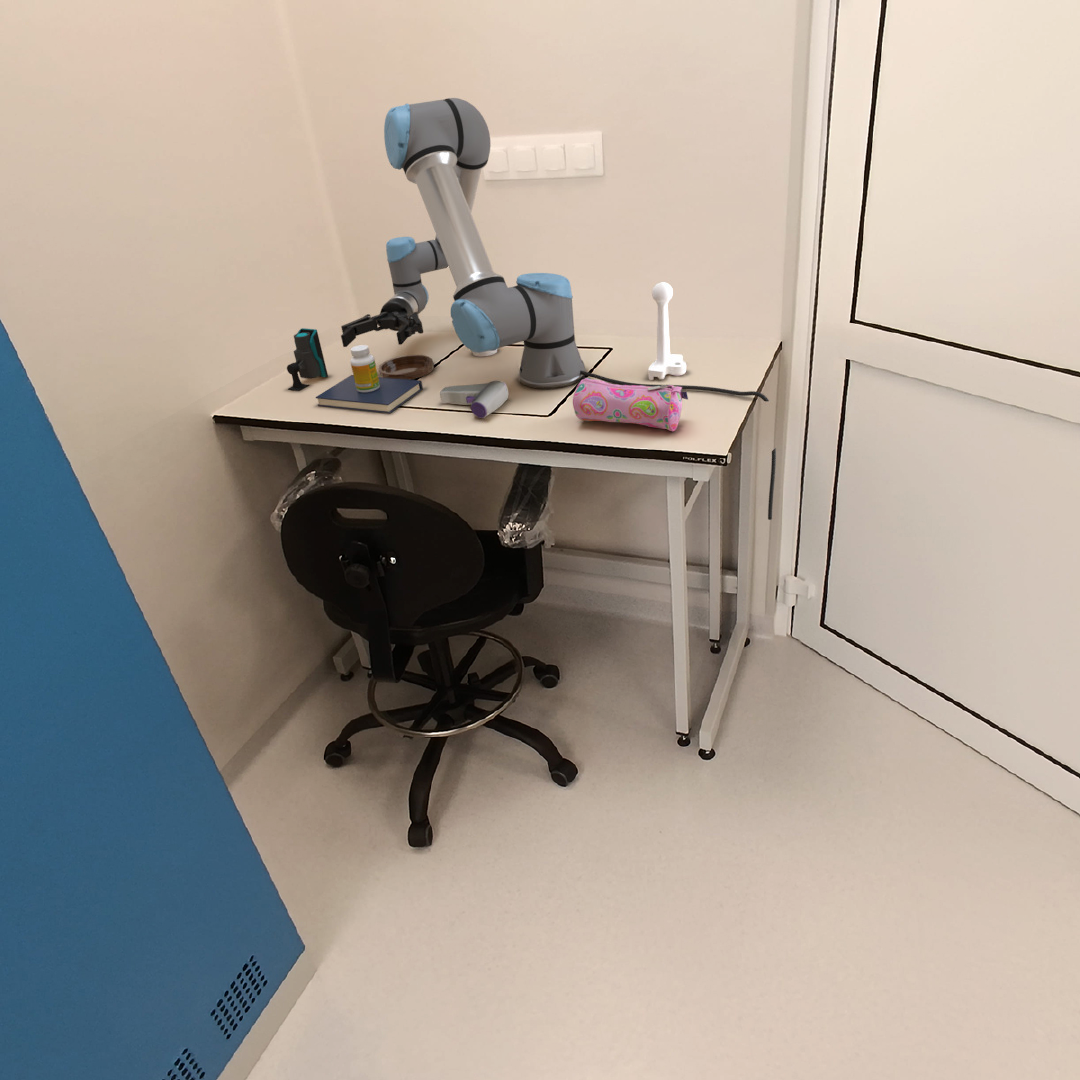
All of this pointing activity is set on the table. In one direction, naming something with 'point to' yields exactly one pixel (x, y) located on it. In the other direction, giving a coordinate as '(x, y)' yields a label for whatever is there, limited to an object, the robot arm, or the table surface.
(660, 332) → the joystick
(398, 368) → the brown round tray
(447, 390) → the infrared thermometer
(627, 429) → the table surface
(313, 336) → the surveillance camera
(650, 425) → the pencil case
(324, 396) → the book
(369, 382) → the supplement bottle
